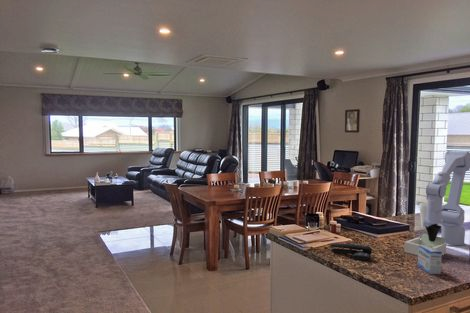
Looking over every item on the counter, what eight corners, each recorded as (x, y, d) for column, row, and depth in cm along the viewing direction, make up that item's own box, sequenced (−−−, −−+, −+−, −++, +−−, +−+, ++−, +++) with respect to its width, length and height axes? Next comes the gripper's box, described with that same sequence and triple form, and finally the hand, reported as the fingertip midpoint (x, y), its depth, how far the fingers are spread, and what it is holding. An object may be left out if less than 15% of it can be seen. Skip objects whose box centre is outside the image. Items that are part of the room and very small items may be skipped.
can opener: (374, 258, 151) (374, 245, 151) (368, 262, 145) (369, 249, 145) (333, 249, 162) (334, 237, 162) (327, 253, 157) (327, 240, 156)
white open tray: (417, 246, 166) (418, 237, 166) (445, 254, 157) (446, 243, 156) (404, 251, 159) (404, 241, 159) (432, 259, 150) (433, 249, 149)
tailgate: (420, 244, 165) (424, 234, 167) (442, 250, 158) (446, 239, 159) (419, 243, 164) (423, 233, 166) (441, 248, 157) (444, 238, 158)
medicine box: (417, 266, 142) (418, 244, 141) (428, 266, 142) (429, 244, 141) (429, 274, 134) (430, 251, 133) (441, 274, 134) (442, 251, 134)
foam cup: (438, 227, 201) (439, 204, 201) (437, 231, 194) (438, 207, 193) (419, 225, 206) (420, 202, 206) (417, 228, 199) (418, 205, 198)
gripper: (432, 208, 168) (430, 237, 169) (417, 210, 160) (414, 240, 160) (448, 210, 163) (446, 240, 163) (433, 213, 154) (431, 244, 155)
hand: (432, 241), depth 161 cm, fingers closed, pressing on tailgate
